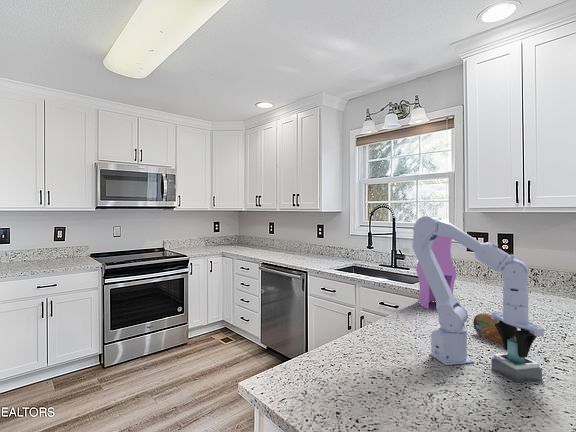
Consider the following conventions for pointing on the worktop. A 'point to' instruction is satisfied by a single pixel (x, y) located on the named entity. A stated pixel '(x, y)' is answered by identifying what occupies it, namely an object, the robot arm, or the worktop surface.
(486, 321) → the tin
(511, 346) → the teal capped cylinder
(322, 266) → the worktop surface
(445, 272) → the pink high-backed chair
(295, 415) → the worktop surface
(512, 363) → the grey flat square block
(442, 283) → the robot arm
